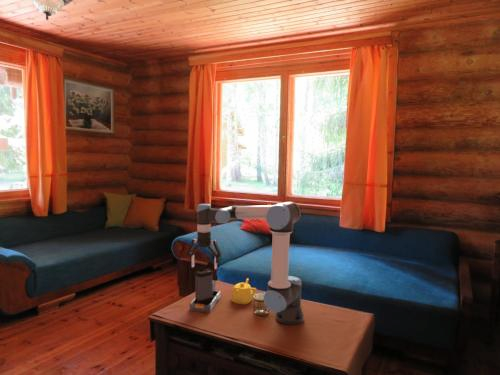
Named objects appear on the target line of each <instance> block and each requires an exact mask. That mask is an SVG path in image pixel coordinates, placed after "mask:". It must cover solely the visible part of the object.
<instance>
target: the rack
mask: <svg viewBox="0 0 500 375" xmlns="http://www.w3.org/2000/svg"><path fill="white" fill-rule="evenodd" d="M221 295H222V291H221V290H216V280H213V279H212V302H211V303H210V304H209V305H205V304H199V303H196V304H195V297H194V298H192V301H191V302H190V303H189V311H190V312H199V313H207V314H208V313H212V311H213V310H214V308H215V307H216V305H217V304H218V302H219V301H220V300H221ZM216 303H217V304H216Z"/></svg>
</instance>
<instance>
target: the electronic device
mask: <svg viewBox="0 0 500 375" xmlns="http://www.w3.org/2000/svg"><path fill="white" fill-rule="evenodd" d="M213 273H214V272H213V270H211V269H209V268H205V269H204V270H203V271H199V270H196V271H195V274H194V275H195V277H194V278H195V280H194V281H195V287H194V288H195V290H194V291H195V295H194V296H195V297H194V298H195V304H196V303H199V304H205V305H209V304H210V303H211V302H212V280H213Z"/></svg>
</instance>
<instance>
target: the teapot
mask: <svg viewBox="0 0 500 375" xmlns="http://www.w3.org/2000/svg"><path fill="white" fill-rule="evenodd" d="M256 293H257V288H256V287H251V285H250V284H249V277H247V278H246V280H245V281H244V282H238V283H236V284H235V285H234V286H233V288H232V292H231V294H230V295H231V296H230V300H231V302H232V303H234V304H238V305H248V304H249V303H250V302H251V301H253V299H254V296H255V295H256Z"/></svg>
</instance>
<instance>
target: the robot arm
mask: <svg viewBox="0 0 500 375" xmlns="http://www.w3.org/2000/svg"><path fill="white" fill-rule="evenodd" d="M196 210H197V211H196V213H197V214H196V216H197V217H196V218H197V222H196V223H197V225H196V226H197V235H196V236H197V238H193V239H192V240H191V244H190V245H189V248H188V250H187V251H186V252H187V253H186V255H188V256H189V261H190V262H191V268H194V267H195V253H196V252H197V251H198V249H199V248H205V249H206V248H207V249H209V251H210V252H211V253H212V254H213V256H214V265H213V266H214V269H213V270H217V268H218V263H219V260H220V259H219V258H220V257H222V256H223V254H222V252H221V248H220V247H219V246H218V244H217V239H212V232H211V229H212V227H211V226H212V223H218V224H227V223H228V222H229V221H231V220H266V223H267V225H268V227H269V231H270V233H272V234H271V235H272V242H271V244H272V245H271V269H270V271H271V272H270V273H271V274H270V275H271V276H270V280H269V281H268V282H267V291H266V292H264V295H263V303H264V306H266V308H267V310H269V311H271V312H273V313H275V320H276V321H277V322H278V323H280V324H283V325H286V326H287V325H288V326H295V325H299V324H302V323H303V321H304V318H305V317H304V315H305V314H304V312H303V308H302V286H303V285H302V280H301V279H300V278H299V277H297V276H293V275H289V268H290V267H289V266H290V265H289V264H290V240H291V239H290V237H291V234H292V233H293V231H294V224H296V223H297V222H298V221H299V219H300V217H301V214H302V212H301V209H300V207H299V205H298V204H297V203H295V202H293V201H285V202H279V203H276V204H267V205H263V204H262V205H261V204H260V205H230V206H226V207H221V208H212V207H211V204H210V203H199V204H198V205H197V208H196ZM196 243H197V245H196V246H195V244H196ZM212 244H213V245H212ZM193 248H194V249H193Z"/></svg>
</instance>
